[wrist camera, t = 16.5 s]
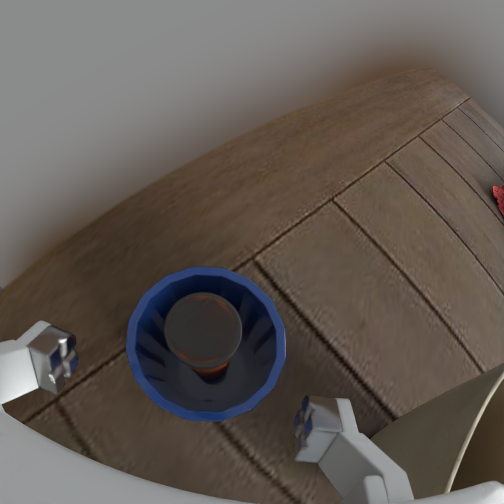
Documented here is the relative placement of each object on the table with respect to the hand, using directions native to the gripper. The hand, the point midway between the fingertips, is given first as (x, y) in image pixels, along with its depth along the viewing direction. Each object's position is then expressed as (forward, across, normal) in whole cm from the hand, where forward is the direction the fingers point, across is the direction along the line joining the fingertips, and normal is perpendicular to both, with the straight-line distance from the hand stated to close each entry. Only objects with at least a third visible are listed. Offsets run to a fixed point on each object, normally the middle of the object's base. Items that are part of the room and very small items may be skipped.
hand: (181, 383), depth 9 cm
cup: (+12, 0, +9) cm, 15 cm away
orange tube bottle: (+12, 0, +8) cm, 14 cm away
